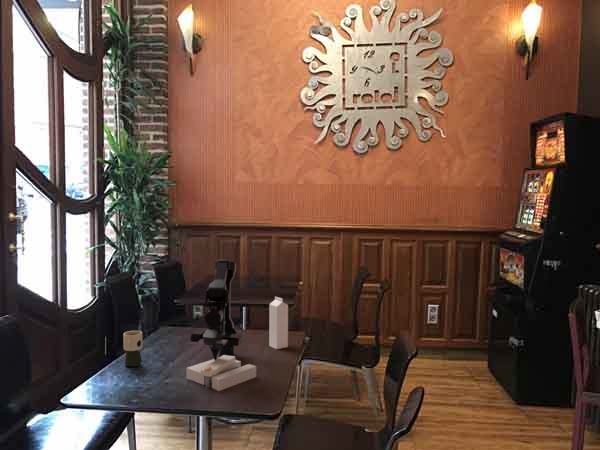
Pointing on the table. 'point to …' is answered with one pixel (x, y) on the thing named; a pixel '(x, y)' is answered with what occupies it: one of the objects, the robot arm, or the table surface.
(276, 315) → the milk
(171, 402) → the table surface
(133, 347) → the character mug
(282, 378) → the table surface
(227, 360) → the cover
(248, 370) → the white block with cutout
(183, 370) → the table surface
